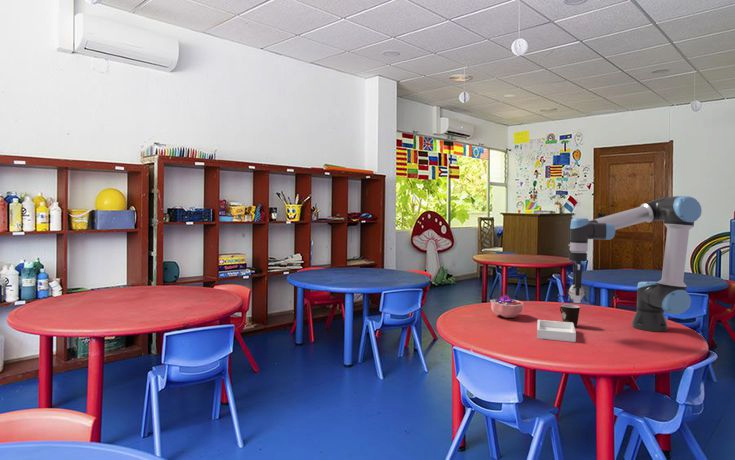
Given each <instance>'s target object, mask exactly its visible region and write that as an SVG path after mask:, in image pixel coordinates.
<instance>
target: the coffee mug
mask: <svg viewBox="0 0 735 460" xmlns="http://www.w3.org/2000/svg"><path fill="white" fill-rule="evenodd" d="M580 309H581V306H580V305H575V304H570V303H569V304H561V306H560V307H559V311H560V313H561V316H562V317H561V318H562V322H572V323H573V324H574V328H575V329H576V328H577V327H578V321H579V316H580Z"/></svg>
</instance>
